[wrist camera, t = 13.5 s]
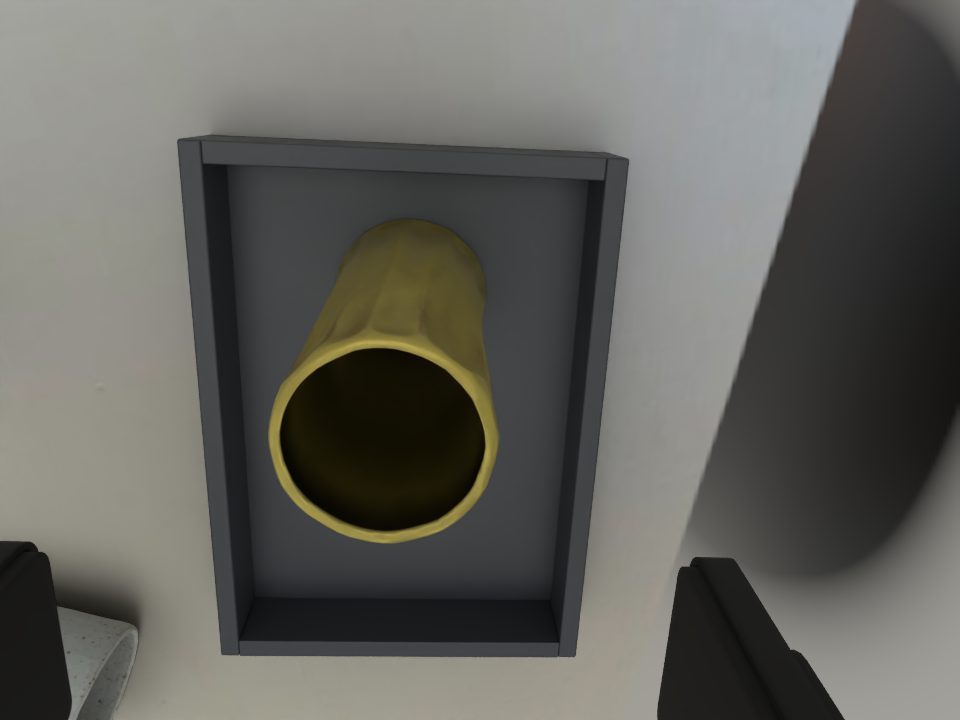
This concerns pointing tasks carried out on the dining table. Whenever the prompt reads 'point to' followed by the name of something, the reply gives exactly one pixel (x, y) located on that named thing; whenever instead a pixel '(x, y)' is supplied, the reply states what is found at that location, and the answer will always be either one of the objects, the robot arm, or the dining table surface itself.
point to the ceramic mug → (96, 662)
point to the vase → (391, 391)
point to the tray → (511, 363)
